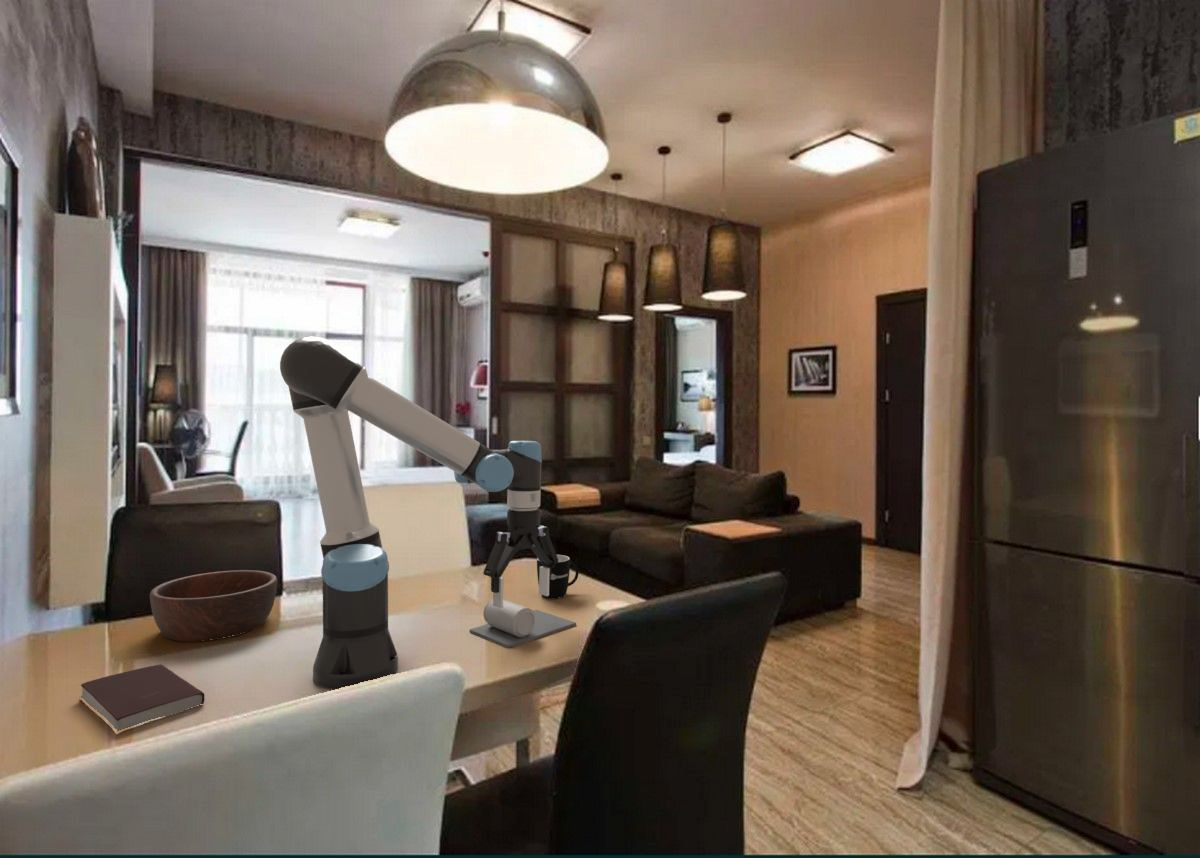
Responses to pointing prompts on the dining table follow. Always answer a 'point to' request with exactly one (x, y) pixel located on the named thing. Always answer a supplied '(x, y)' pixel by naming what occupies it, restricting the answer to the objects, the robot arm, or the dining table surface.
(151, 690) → the book
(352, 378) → the robot arm
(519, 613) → the beverage can
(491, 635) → the mat
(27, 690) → the dining table surface
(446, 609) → the dining table surface
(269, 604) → the wooden bowl
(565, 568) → the mug
